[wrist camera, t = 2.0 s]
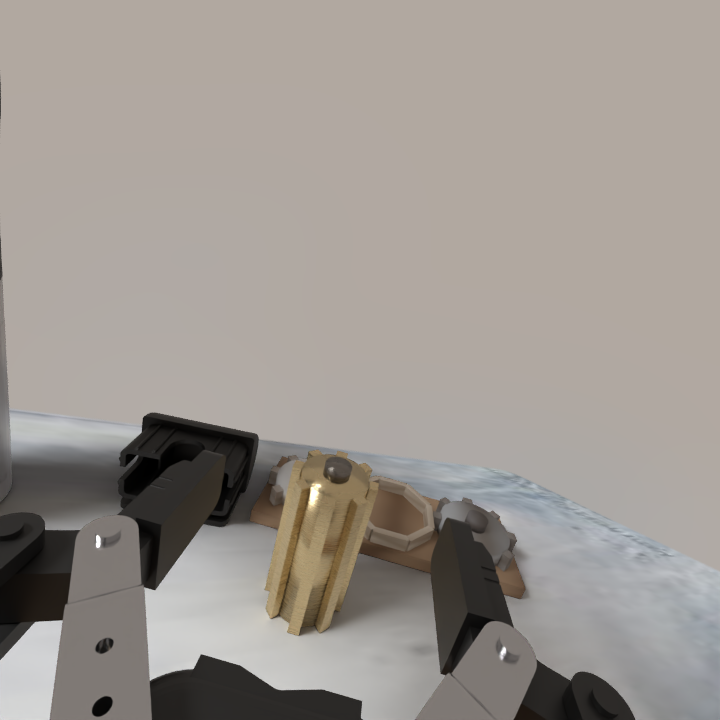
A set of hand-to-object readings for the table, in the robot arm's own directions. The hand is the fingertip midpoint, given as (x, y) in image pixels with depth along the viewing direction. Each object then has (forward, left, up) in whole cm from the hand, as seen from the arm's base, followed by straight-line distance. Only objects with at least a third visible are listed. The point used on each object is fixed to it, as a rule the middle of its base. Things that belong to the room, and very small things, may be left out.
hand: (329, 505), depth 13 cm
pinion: (0, +10, -17) cm, 20 cm away
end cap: (-13, +17, -17) cm, 28 cm away
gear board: (+6, +20, -17) cm, 27 cm away
